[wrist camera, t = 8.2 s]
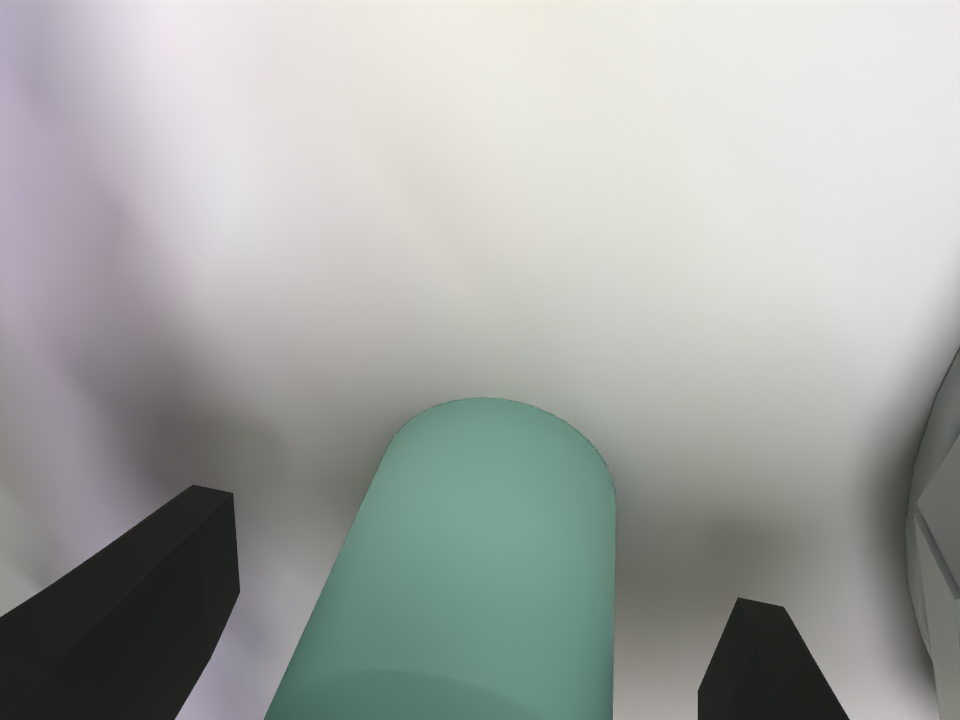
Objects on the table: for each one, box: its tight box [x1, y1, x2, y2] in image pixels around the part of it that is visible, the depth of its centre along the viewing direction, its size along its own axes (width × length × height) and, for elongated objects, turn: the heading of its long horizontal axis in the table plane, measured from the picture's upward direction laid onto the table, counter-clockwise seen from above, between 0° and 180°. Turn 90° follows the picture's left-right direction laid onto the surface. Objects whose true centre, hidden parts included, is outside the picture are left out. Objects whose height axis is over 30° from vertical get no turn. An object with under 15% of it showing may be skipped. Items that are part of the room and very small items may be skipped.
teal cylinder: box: [264, 398, 616, 720], centre depth 11 cm, size 4×4×5 cm
